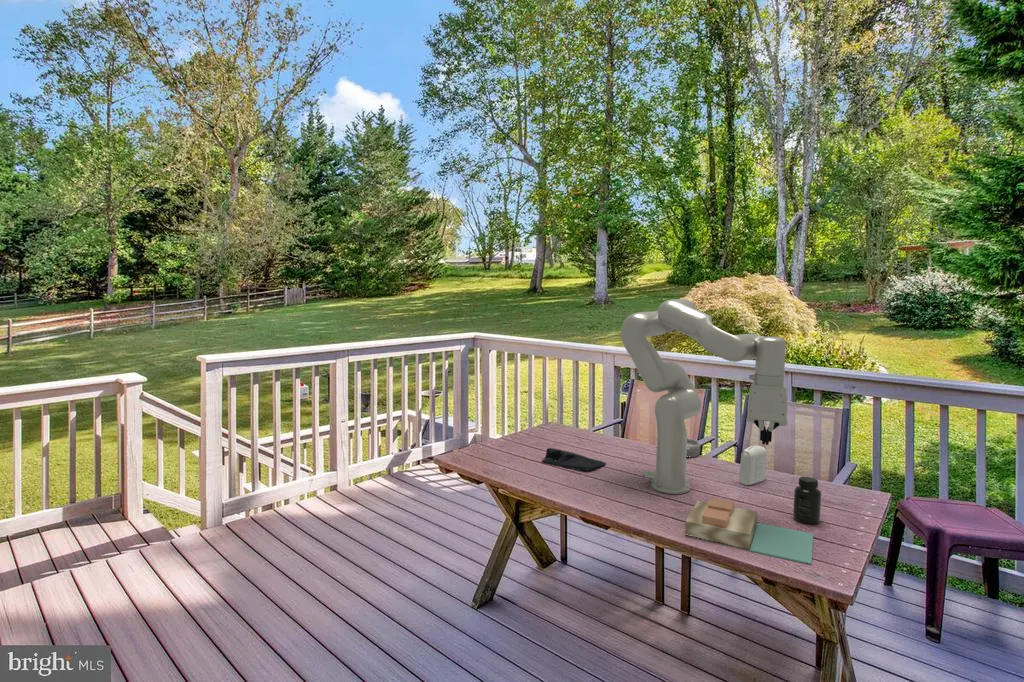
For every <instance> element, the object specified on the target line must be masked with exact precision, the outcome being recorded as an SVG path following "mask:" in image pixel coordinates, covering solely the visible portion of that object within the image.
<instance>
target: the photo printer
mask: <svg viewBox="0 0 1024 682" xmlns="http://www.w3.org/2000/svg"><path fill="white" fill-rule="evenodd" d="M767 454H768V453H767V450H766V448H765V447H764V446H761V445H751V446H748V447H746V448H745V449H744V450H743V451H742V452H741V454H740V466H739V469H740V470H739V482H740V483H741V484H742V485H745V486H750V485H755V484H758V483H760V482H763V481H765V480H766V471H767V470H766V469H767Z"/></svg>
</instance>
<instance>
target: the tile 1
mask: <svg viewBox="0 0 1024 682" xmlns="http://www.w3.org/2000/svg"><path fill="white" fill-rule="evenodd" d="M708 503H709V504H708V508H711V509H716V510H721V511H726V512H730V514H729V516H731V514H732V511H733V509H734V507H735V506H734V505H735V502H734V501H731V500H725V499H720V498H714V497H711V498H710V500H709V501H708Z"/></svg>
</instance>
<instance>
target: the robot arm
mask: <svg viewBox="0 0 1024 682" xmlns="http://www.w3.org/2000/svg"><path fill="white" fill-rule="evenodd" d="M674 330H675V331H677V332H679V333H682V335H683V334H684V335H685V336H687V337H689V338H692V339H694V340H695V341H696V342H697V343H698V344H699V345H700V346H701V347H702V348H703V349H704V350H706V351H707V352H709V353H711V354H713V355H716V356H717V357H719V358H721V359H723V360H726V361H729V362H733V363H736V362H741V361H747V360H748V361H749V360H755V366H754V373H753V374H749V375H748V377H749V378H748V379H749V380H751V381H753V383H751V385H750V389H749V393H748V399H747V400H748V401H747V409H746V410H747V411H746V412H747V414H746V415H747V416H746V419H745V421H747V422H748V423H751V424H754V425H755V426H756V427H757V428H758V429H759V430H760V431H759V441H761V444H762V445H763V446H764V445H766V446H769V443H770V442H772V439H773V431H774V430H776V429H777V428H778V427H786V426H788V423H789V422H788V392H787V387H786V386H787V385H784V383H785V370H786V369H785V368H786V367H785V366H786V348H787V347H786V346H787V344H786V343H787V342H786V339H785V338H783V337H779V336H770V335H769V336H763V335H759V334H755V333H754V334H753V333H742V334H741V333H740V334H735V335H734V334H731V333H729V332H726V331H725V330H722V329H720V328H719V327H717V326H715V325H714V324H713V319H712V316H711V315H710V314H708V313H705V312H703V311H701V310H699V309H697V307H696V305H695V304H694V303H693V302H692V301H691V300H689V299H687V298H676V299H674V298H672V299H667V300H664V301H663V302H661V304H660V305H658V308H657V310H654V311H652V310H651V311H638V312H634V313H631V314H630V315H628V316H627V317H626V318H625V319H624V320H623V322H622V325H621V328H620V338H621V342H622V344H623V345H622V346H624V348H625V350H626V352H627V353H628V354H629V356H630V358H631V360H632V361H633V363H634V366H635V368H636V369H637V372H638V374H639V375H640V377H641V379H642V380H643V383H644V384H645V385H644V386H645V387H646V388H647V389H648V390H649V391H650V392H652V393H663V392H667V393H665V394H663V395H661V396H660V397H659V398H658V399H657V400H656V402H655V405H654V416H655V421H656V453H655V455H656V456H655V457H656V459H655V470H653V471H650V470H643V477H644V478H645V479H650V480H651V481H650V486H651V488H652V490H655V491H657V492H659V493H664V494H669V495H682V494H686V493H688V492H690V491H691V484H690V483H689V482H687V478H686V477H687V458H688V457H687V438H688V432H687V428H686V425H685V420H687V419H691V418H693V417H695V416H697V415H698V414H699V413H700V411H701V409H702V401H701V398H700V395H699V393H698V391H697V389H696V388H695V386H694V384H693V383H692V380H691V379H690V377H689V375H688V373H687V372H686V370H685V369H684V368H683V366H681V365H680V364H679V363H677V362H675V361H664V360H663V359H662V358H661V356H660V354H659V352H658V350H657V349H656V348H655V346H654V345H653V344H652V343H651V342H650V341H648V339H647V338H648V337H656V336H661V335H664V334H668V333H670V332H673V331H674ZM765 422H769V425H768V427H767V429H766V426H765ZM686 457H687V458H686Z"/></svg>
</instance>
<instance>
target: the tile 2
mask: <svg viewBox="0 0 1024 682" xmlns="http://www.w3.org/2000/svg"><path fill="white" fill-rule="evenodd" d="M729 514H730V512H726V511H721V510H716V509H711V508H706V510H705V511H704V513H703V515H702V523H705V524H710V525H714V526H719V527H724V528H726V526H727V524H728V521H729Z"/></svg>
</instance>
